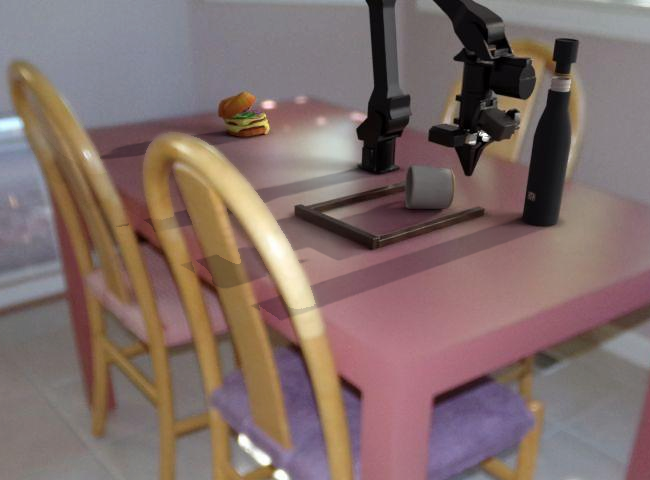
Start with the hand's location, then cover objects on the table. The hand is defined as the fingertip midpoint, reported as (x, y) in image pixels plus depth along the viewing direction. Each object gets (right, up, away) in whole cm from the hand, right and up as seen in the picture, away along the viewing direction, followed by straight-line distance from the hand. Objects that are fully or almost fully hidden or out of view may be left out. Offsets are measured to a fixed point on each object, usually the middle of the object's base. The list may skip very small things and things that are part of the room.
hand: (468, 175), depth 152 cm
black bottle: (+12, -11, -9) cm, 18 cm away
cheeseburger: (-49, +19, +33) cm, 62 cm away
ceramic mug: (-9, -7, -5) cm, 12 cm away
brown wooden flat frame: (-15, -10, -11) cm, 21 cm away
